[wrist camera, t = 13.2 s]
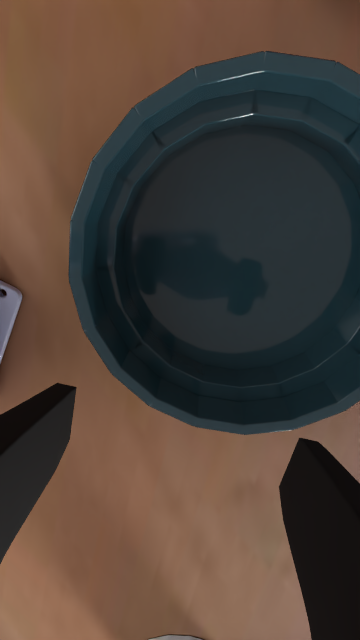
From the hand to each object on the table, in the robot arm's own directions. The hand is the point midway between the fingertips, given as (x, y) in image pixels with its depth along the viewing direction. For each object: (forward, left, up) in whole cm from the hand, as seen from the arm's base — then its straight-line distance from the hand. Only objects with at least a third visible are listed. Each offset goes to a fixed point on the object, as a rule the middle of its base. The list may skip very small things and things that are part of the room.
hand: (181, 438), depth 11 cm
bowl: (+1, +5, -9) cm, 11 cm away
